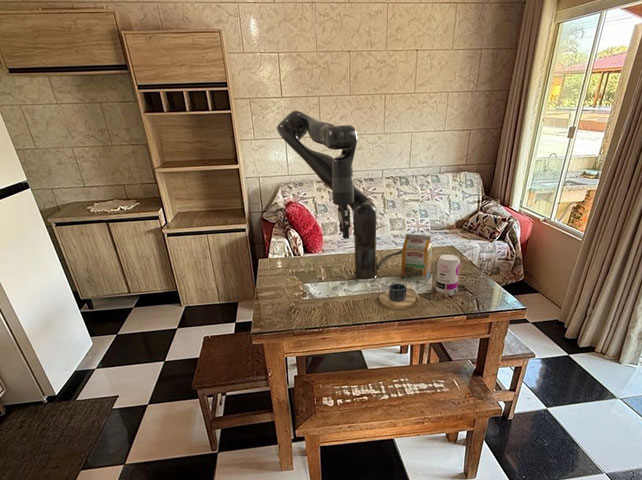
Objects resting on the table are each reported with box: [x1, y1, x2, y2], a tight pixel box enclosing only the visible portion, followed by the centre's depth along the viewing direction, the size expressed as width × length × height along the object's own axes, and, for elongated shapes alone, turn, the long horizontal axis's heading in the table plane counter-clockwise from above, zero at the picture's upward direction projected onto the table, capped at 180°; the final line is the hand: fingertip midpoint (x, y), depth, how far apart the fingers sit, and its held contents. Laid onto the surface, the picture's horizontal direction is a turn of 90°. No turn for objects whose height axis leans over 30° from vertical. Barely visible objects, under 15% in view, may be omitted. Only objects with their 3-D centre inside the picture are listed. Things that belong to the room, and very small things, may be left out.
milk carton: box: [400, 233, 433, 281], centre depth 175 cm, size 11×11×19 cm
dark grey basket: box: [388, 283, 413, 302], centre depth 157 cm, size 8×6×5 cm
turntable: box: [378, 291, 416, 307], centre depth 158 cm, size 14×14×2 cm
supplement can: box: [435, 253, 461, 297], centre depth 160 cm, size 8×8×15 cm
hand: (344, 234), depth 150 cm, fingers open, 8 cm apart
